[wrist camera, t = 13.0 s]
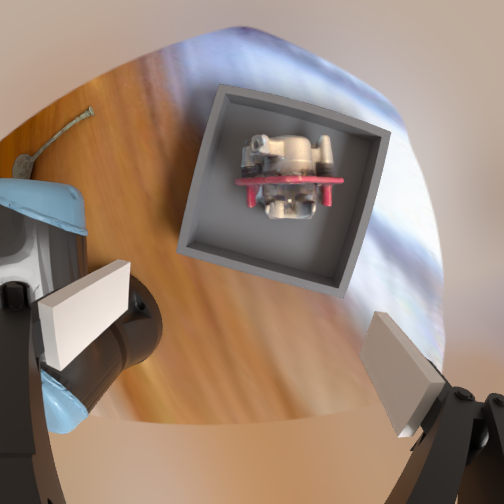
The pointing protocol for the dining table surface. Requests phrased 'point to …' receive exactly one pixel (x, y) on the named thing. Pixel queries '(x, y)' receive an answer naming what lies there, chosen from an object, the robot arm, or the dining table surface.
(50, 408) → the robot arm
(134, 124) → the dining table surface
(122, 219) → the dining table surface
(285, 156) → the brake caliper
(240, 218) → the parts bin
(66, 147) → the dining table surface
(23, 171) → the soupspoon
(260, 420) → the dining table surface
